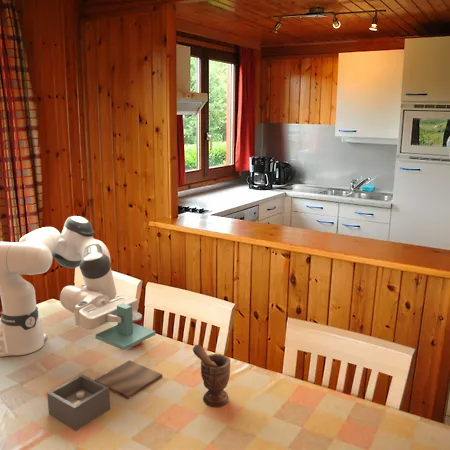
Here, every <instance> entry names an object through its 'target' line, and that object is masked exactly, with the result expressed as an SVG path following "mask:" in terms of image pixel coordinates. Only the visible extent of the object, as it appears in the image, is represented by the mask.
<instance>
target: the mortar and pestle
mask: <svg viewBox="0 0 450 450" xmlns="http://www.w3.org/2000/svg"><path fill="white" fill-rule="evenodd" d="M192 352H193V353H194V355H195V356H196V357H197V358H198V359H199V360H200V374H201V375H200V376H201V379H202V381H203V386H204V387H205V389H207V391H206V392H205V394H203V397H202V398H203V402H204V403H205V404H206V406H207V405H208V406H209V407H216V408H217V407H222V406H224V405H226V404H227V403H228V402H229V396H228V393H227V392H226V390H224V389H225V388H227V386H228V383H229V380H230V378H231V359H230V358H229V357H228V356H226V355H225V354H222V353H221V354H220V353H212V354H208V353H207V351H206V350H205V348H204V347H203V346H202V345H200V344H195V345H194V346H193V348H192Z"/></svg>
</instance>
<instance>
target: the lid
mask: <svg viewBox="0 0 450 450" xmlns="http://www.w3.org/2000/svg"><path fill="white" fill-rule="evenodd" d="M119 315H121V316H123V318H124V319H123V320H124V321H123V322H121V323H118V322H117V324H115V325H114V326H111V327H109V328H107V329H105V330H103V331H101V332H98V333H96V334H94V338H95V339H96V340H98V341H100V342H103V343H105V344H107V345H110V346H113V347H114V348H117V349H120V350H122V351H127V350H129V349H132V348H131V347H133V346H135V345H137V344H139V343H140V342H142V341H143V342H144V341H146V340H149V339H150V338H152V337H153V336H156V334H157V333H156V330H155V329H154V330H153V329H151V328H148V327H145V326H143V325H142V326H140V325H137V324H135V323H133V320H132V306H130V305H127V304H124V303H122V304H120V305H117V316H119ZM143 342H142V343H143Z"/></svg>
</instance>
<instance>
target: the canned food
mask: <svg viewBox="0 0 450 450" xmlns="http://www.w3.org/2000/svg"><path fill="white" fill-rule="evenodd" d="M132 320H133V323H135V324H137V325H140V326H143V315H142V314H141V313H140V312H139V311H133V317H132ZM143 342H144V341H142V342H140V343H139V344H137V345H135V346H133V347H131V348H130V349H133V348H138V347H140V346H142V345H143Z"/></svg>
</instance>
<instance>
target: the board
mask: <svg viewBox="0 0 450 450" xmlns="http://www.w3.org/2000/svg"><path fill="white" fill-rule="evenodd" d="M162 378H163V374H162V373H160V372H157V371H155V370H153V369H150V368H148V367H147V366H144V365H141V364H139V363H137V362H134V361H132V360H127V361H125V362H124V363H122V364H120V365H118V366H117V367H115V368H113V369H111V370H109V371H107V372H105V373H104V374H102V375H100V376H99V377H97V378H95V379H94V380H95V381H97V382H99V383H101V384H103V385H105V386H107V387H109V391H111V392H113V393H114V394H117V395H119V396H120V397H122V398H124V399H127V400H129V399H130V398H133V396H135V395H137V394H139V393H140V392H141V391H143V390H144V389H146V388H148V387H149V386H151V385H153V384H154V383H155V382H156V381H158V380H159V379H162Z"/></svg>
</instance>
